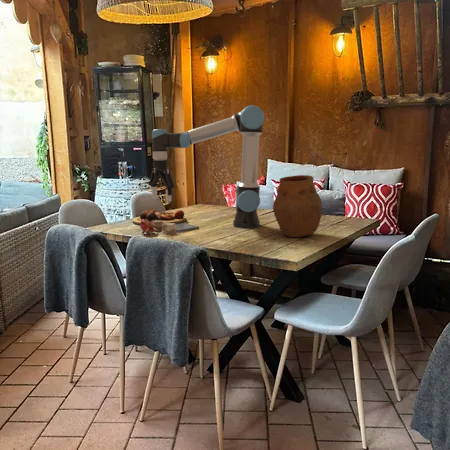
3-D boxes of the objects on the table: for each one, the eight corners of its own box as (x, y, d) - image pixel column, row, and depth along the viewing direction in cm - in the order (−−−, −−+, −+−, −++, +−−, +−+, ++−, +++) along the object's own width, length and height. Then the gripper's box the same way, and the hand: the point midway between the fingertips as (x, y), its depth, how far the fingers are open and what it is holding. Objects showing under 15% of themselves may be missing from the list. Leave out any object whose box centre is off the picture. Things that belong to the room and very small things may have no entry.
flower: (137, 233, 220) (146, 220, 219) (133, 226, 227) (142, 214, 227) (152, 241, 225) (161, 229, 224) (148, 234, 232) (156, 222, 232)
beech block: (175, 233, 228) (175, 223, 227) (168, 234, 224) (168, 225, 223) (169, 231, 231) (168, 222, 230) (162, 233, 227) (161, 224, 226)
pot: (262, 234, 222) (263, 176, 216) (295, 228, 236) (296, 173, 230) (297, 243, 203) (299, 179, 197) (330, 235, 217) (333, 176, 211)
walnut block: (163, 230, 234) (162, 221, 233) (154, 231, 232) (154, 222, 231) (160, 228, 239) (159, 220, 238) (151, 229, 237) (151, 220, 236)
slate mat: (198, 228, 238) (198, 226, 238) (178, 232, 229) (178, 230, 229) (183, 225, 248) (183, 223, 248) (163, 228, 239) (163, 226, 239)
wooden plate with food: (195, 219, 269) (195, 205, 267) (168, 228, 240) (168, 213, 239) (152, 216, 282) (151, 204, 280) (121, 225, 253) (120, 211, 252)
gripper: (180, 160, 218) (181, 201, 222) (153, 158, 236) (155, 197, 240) (167, 160, 213) (169, 203, 217) (141, 159, 231) (143, 198, 236)
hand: (161, 200), depth 229 cm, fingers open, 13 cm apart
